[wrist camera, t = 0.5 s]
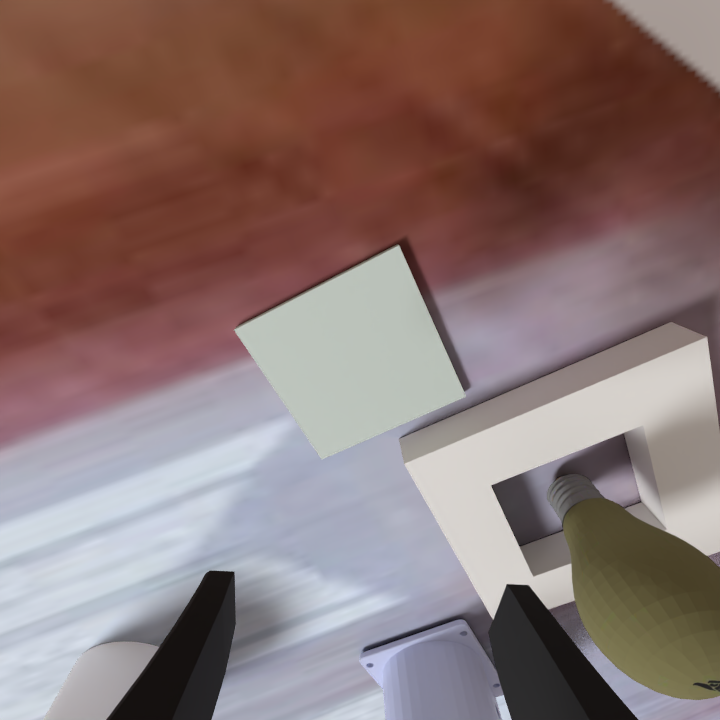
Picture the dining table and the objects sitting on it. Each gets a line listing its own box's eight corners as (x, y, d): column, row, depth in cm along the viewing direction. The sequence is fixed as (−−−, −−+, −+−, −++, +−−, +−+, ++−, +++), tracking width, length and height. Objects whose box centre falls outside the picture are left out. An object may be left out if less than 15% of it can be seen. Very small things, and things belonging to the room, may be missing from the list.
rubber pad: (463, 392, 20) (466, 396, 19) (322, 454, 21) (321, 459, 20) (397, 244, 17) (399, 245, 16) (236, 326, 18) (234, 329, 17)
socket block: (705, 518, 24) (735, 546, 22) (485, 595, 26) (496, 626, 24) (670, 321, 18) (707, 336, 17) (398, 439, 21) (404, 463, 19)
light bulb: (618, 433, 21) (831, 625, 12) (607, 511, 23) (779, 723, 14) (513, 448, 21) (643, 650, 12) (513, 524, 23) (621, 743, 14)
